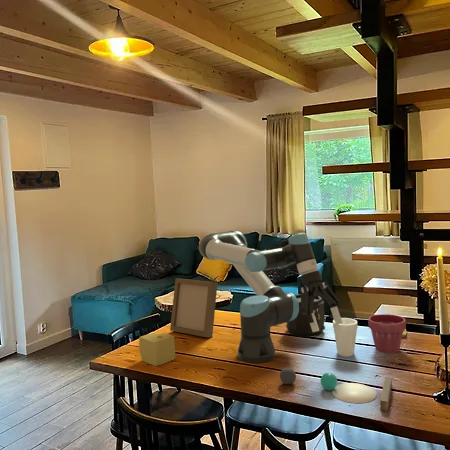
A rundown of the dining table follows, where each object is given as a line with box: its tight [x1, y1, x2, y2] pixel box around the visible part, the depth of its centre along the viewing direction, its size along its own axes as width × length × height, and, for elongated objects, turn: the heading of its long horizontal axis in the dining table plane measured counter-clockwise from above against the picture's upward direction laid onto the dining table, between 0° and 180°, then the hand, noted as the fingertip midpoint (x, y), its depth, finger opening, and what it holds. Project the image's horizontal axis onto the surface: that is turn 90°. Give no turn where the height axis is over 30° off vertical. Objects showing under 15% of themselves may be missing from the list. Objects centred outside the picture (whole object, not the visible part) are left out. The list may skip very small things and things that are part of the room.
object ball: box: [320, 372, 338, 391], centre depth 154 cm, size 6×6×6 cm
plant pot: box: [368, 313, 407, 354], centre depth 187 cm, size 14×14×13 cm
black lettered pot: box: [285, 293, 326, 338], centre depth 213 cm, size 18×18×16 cm
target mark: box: [331, 382, 378, 404], centre depth 151 cm, size 14×14×1 cm
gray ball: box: [279, 367, 297, 385], centre depth 160 cm, size 6×6×6 cm
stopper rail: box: [379, 376, 393, 412], centre depth 147 cm, size 2×18×3 cm, turn 157°
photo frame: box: [169, 277, 218, 338], centre depth 220 cm, size 15×22×25 cm
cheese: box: [138, 332, 176, 367], centre depth 186 cm, size 10×11×10 cm
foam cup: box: [332, 317, 358, 357], centre depth 185 cm, size 10×9×13 cm
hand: (328, 327), depth 172 cm, fingers open, 13 cm apart
